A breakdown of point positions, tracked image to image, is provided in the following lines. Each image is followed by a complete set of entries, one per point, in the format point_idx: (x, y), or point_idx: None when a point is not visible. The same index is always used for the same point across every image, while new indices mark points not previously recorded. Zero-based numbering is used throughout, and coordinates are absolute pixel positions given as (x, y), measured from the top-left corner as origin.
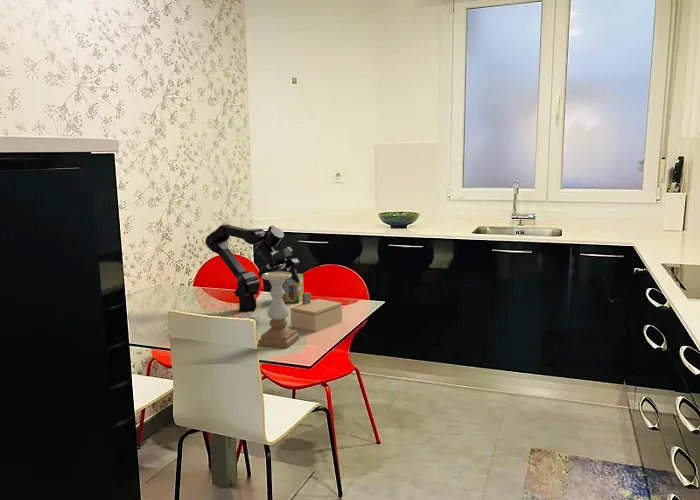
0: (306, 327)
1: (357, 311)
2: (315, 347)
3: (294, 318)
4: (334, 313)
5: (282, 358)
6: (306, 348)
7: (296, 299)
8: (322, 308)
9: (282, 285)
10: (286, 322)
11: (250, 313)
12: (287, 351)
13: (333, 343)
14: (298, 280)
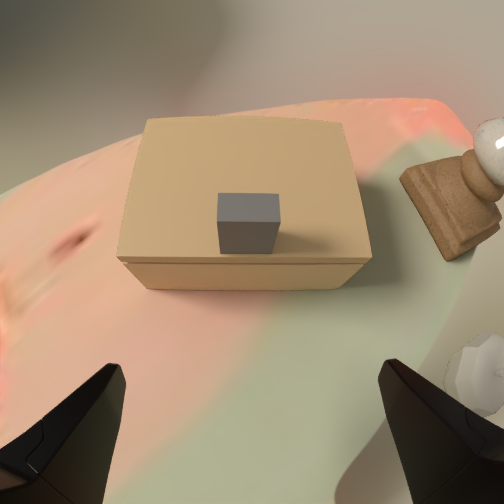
0: None
1: (34, 208)
2: (400, 118)
3: None
4: None
5: None
6: (419, 131)
7: None
8: (276, 126)
9: (399, 362)
10: (469, 150)
11: (488, 382)
12: (456, 155)
13: (353, 99)
14: (114, 371)
